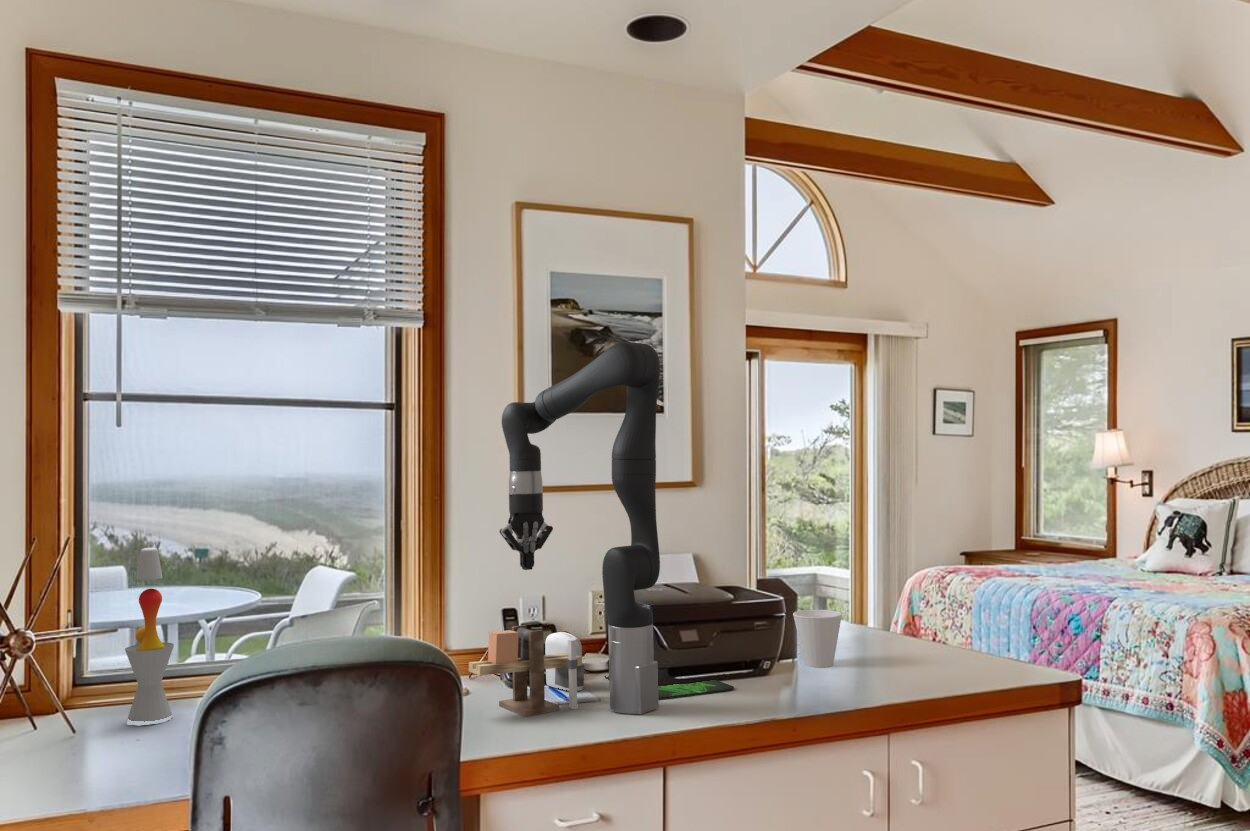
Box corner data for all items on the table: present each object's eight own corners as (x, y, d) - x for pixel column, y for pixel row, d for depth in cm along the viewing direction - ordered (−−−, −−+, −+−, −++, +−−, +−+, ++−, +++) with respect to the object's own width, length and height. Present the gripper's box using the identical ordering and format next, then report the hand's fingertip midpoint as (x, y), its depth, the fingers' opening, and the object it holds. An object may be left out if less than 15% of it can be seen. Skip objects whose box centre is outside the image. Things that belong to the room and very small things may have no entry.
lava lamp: (183, 717, 203) (182, 547, 204) (142, 728, 195) (142, 551, 197) (156, 712, 208) (155, 545, 209) (115, 723, 200) (115, 549, 201)
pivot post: (532, 699, 212) (531, 622, 212) (559, 710, 203) (557, 629, 203) (499, 705, 207) (497, 627, 208) (524, 716, 198) (523, 634, 199)
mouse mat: (600, 677, 233) (600, 673, 233) (684, 668, 241) (684, 663, 241) (646, 703, 208) (646, 698, 208) (738, 692, 216) (738, 687, 216)
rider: (509, 663, 205) (510, 630, 205) (517, 666, 202) (518, 632, 202) (487, 665, 202) (489, 631, 202) (495, 668, 199) (496, 633, 199)
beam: (570, 681, 214) (572, 623, 215) (585, 686, 210) (586, 627, 210) (466, 692, 200) (469, 631, 201) (479, 698, 195) (482, 635, 196)
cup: (784, 662, 243) (783, 612, 243) (824, 657, 248) (822, 607, 248) (813, 672, 232) (811, 619, 232) (854, 666, 237) (852, 614, 237)
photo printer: (543, 685, 224) (542, 631, 225) (558, 682, 227) (557, 628, 227) (569, 693, 216) (568, 636, 217) (585, 690, 219) (584, 634, 219)
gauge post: (574, 706, 205) (573, 639, 205) (578, 708, 204) (576, 640, 204) (568, 708, 204) (566, 639, 204) (572, 709, 203) (570, 640, 203)
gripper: (542, 490, 227) (544, 565, 227) (491, 492, 220) (492, 570, 219) (559, 490, 221) (561, 568, 221) (507, 493, 214) (508, 573, 213)
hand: (527, 569), depth 220 cm, fingers closed
